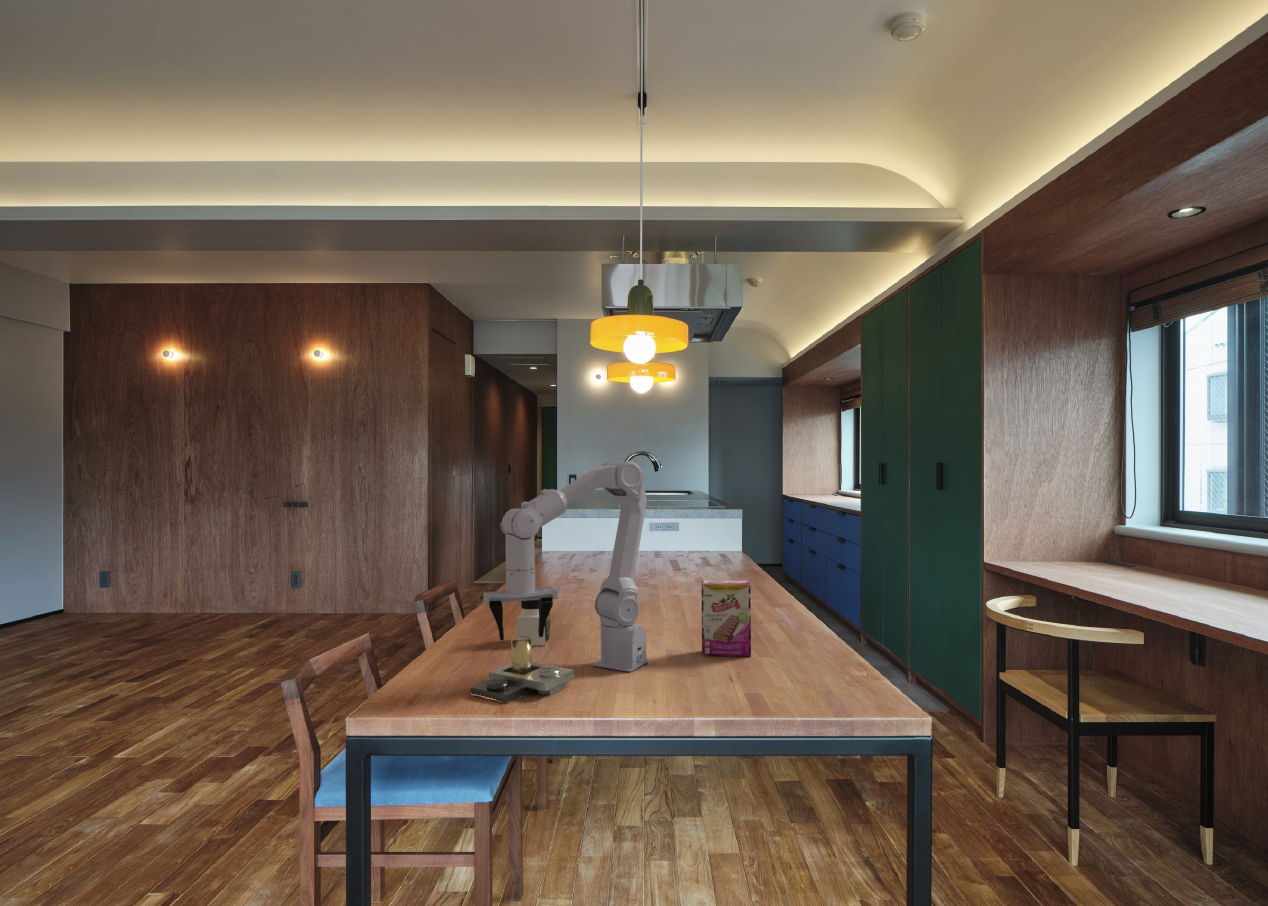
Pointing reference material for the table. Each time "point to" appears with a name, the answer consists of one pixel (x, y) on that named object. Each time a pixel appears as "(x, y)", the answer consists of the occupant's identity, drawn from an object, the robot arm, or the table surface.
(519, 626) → the medicine bottle
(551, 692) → the grey square hole plate
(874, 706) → the table surface
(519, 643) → the brass pin
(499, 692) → the black base board
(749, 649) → the candy bar box
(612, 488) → the robot arm
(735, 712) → the table surface
